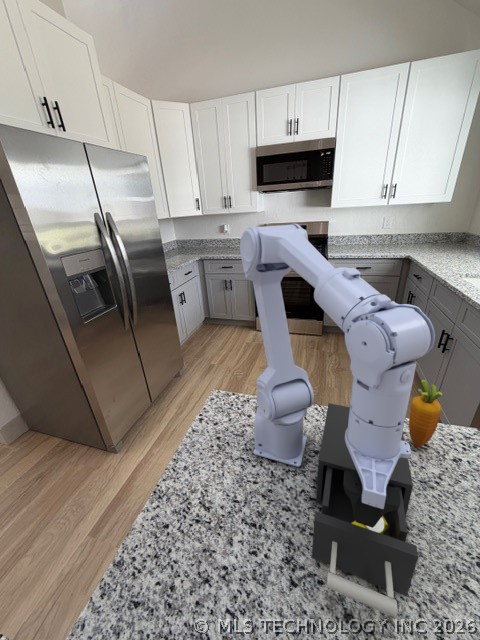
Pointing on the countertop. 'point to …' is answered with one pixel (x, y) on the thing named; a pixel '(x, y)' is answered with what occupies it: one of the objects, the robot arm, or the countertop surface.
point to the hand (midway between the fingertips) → (363, 493)
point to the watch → (376, 526)
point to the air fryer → (340, 458)
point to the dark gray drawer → (362, 548)
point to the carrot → (424, 415)
